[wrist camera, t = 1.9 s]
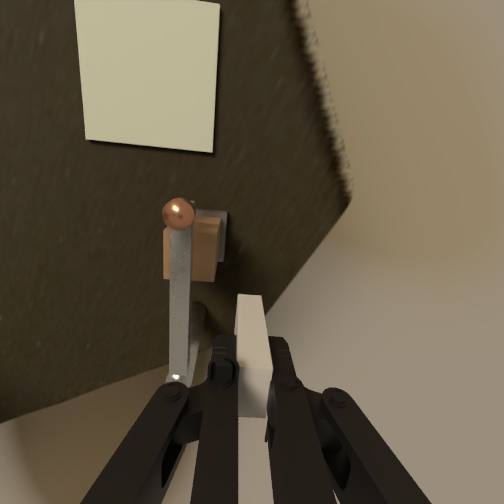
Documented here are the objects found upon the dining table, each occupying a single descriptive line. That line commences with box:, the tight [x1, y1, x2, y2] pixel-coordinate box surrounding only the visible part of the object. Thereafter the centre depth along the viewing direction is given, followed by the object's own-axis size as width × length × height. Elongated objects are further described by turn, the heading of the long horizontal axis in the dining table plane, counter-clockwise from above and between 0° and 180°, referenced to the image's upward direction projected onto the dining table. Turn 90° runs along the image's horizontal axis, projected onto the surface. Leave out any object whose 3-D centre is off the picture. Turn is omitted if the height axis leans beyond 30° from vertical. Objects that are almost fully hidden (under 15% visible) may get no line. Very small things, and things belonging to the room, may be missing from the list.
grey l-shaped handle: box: [162, 198, 206, 388], centre depth 29 cm, size 2×19×15 cm, turn 174°
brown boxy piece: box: [164, 209, 227, 282], centre depth 31 cm, size 6×6×9 cm
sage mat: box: [74, 0, 220, 153], centre depth 29 cm, size 14×14×1 cm
